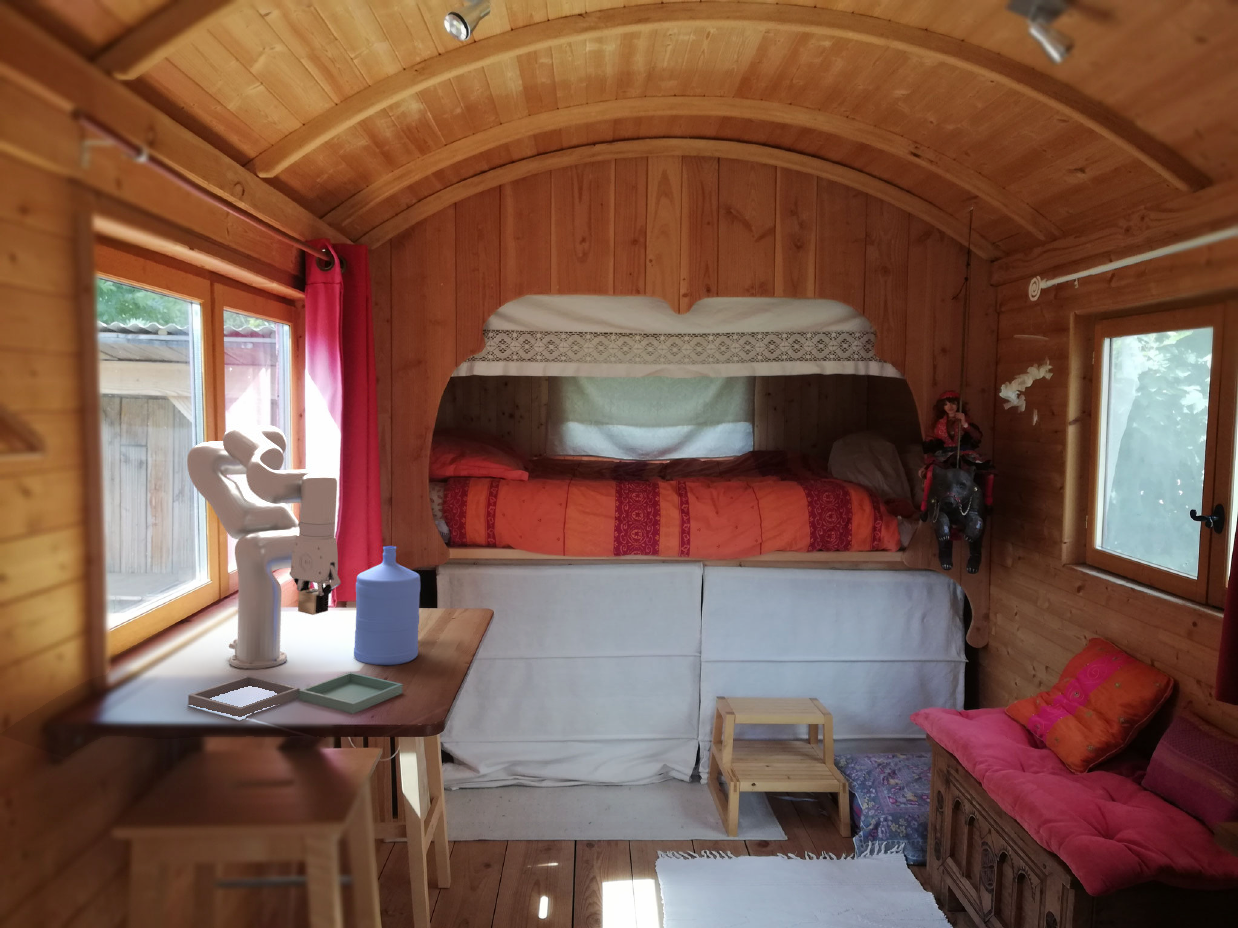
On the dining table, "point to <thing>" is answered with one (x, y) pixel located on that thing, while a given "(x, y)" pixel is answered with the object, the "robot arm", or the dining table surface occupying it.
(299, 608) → the letter cube
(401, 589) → the water jug
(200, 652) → the dining table surface
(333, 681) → the green tray
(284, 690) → the brown tray
